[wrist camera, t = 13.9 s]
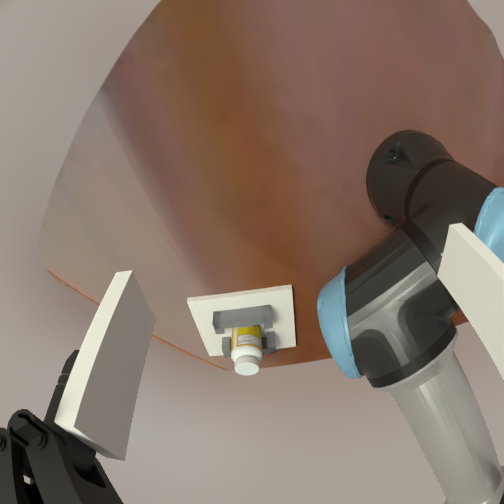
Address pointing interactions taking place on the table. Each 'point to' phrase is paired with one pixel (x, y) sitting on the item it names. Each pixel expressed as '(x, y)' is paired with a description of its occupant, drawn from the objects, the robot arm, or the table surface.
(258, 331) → the supplement bottle
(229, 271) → the table surface
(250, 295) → the socket
